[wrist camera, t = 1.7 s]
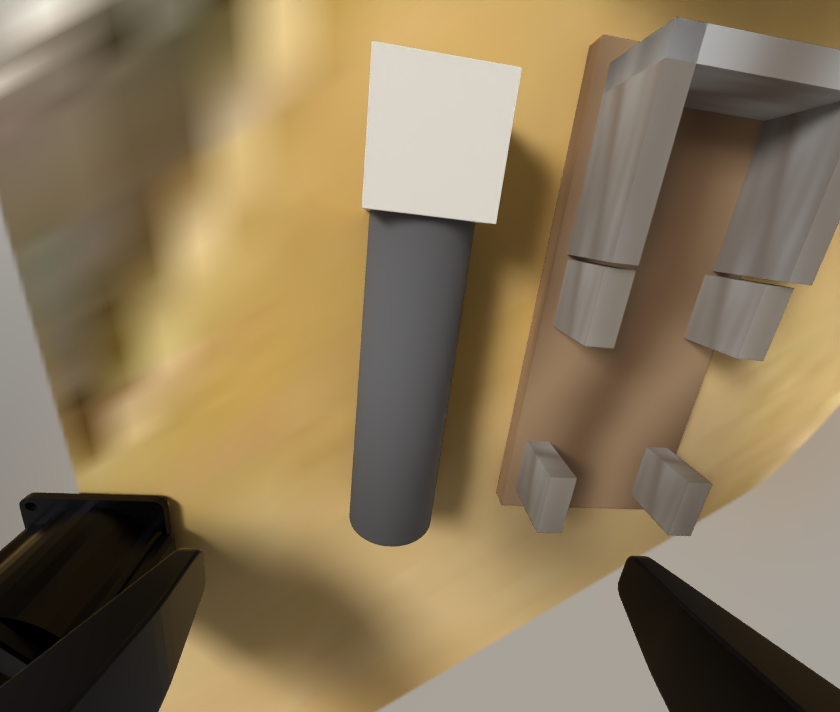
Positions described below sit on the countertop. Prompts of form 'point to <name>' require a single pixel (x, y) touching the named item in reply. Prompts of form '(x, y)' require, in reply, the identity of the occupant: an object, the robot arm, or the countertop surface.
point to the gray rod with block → (419, 266)
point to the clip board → (668, 258)
